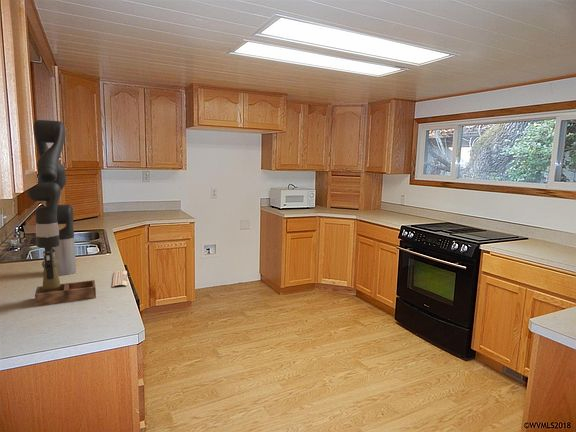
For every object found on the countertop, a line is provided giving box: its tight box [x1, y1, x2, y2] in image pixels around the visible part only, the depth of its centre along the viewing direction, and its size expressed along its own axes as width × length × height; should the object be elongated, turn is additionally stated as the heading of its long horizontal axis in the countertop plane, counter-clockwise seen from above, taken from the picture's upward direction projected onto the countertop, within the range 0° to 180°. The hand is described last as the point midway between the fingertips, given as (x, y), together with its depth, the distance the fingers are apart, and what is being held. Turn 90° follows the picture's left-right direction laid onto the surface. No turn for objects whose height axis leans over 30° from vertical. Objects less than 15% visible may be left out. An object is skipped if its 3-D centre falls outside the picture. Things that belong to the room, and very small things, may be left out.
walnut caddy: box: [34, 279, 97, 307], centre depth 155 cm, size 20×10×4 cm, turn 118°
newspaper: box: [111, 269, 128, 288], centre depth 180 cm, size 24×7×2 cm, turn 22°
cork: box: [41, 259, 61, 289], centre depth 152 cm, size 6×6×11 cm
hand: (50, 277), depth 152 cm, fingers closed on cork, 4 cm apart
